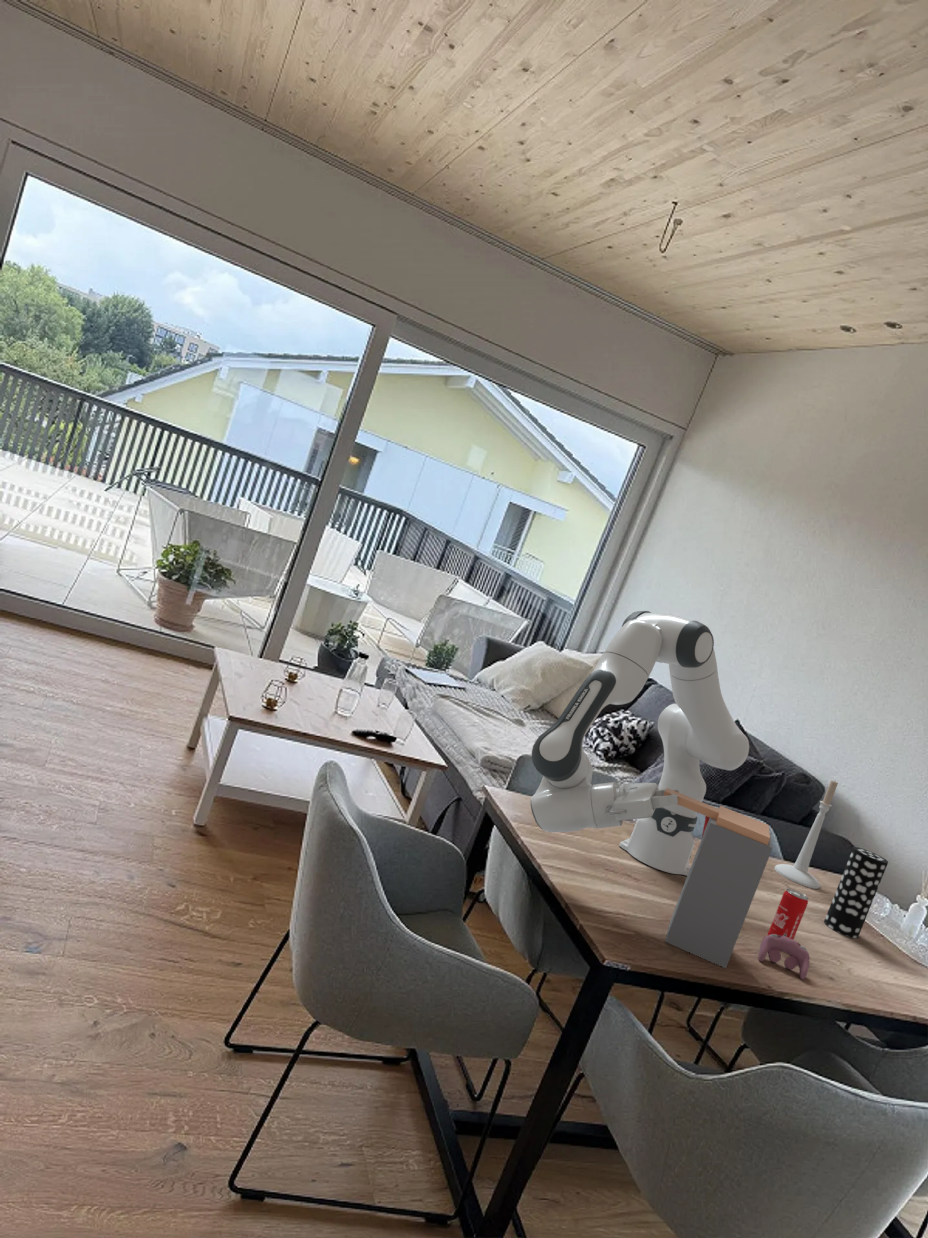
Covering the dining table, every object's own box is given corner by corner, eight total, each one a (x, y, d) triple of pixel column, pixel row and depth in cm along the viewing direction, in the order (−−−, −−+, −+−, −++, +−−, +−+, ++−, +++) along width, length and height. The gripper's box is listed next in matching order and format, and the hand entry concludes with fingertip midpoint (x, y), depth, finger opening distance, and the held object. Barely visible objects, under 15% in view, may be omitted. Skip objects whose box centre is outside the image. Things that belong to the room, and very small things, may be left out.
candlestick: (799, 872, 279) (836, 776, 276) (828, 892, 267) (868, 793, 264) (765, 863, 274) (803, 767, 271) (793, 884, 262) (833, 783, 259)
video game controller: (801, 983, 193) (811, 949, 195) (806, 981, 189) (816, 947, 191) (753, 961, 195) (764, 929, 198) (757, 959, 191) (768, 926, 194)
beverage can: (791, 953, 203) (811, 902, 202) (767, 944, 204) (787, 893, 203) (787, 944, 208) (807, 894, 207) (764, 935, 209) (783, 885, 208)
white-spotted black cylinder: (843, 937, 229) (874, 860, 227) (817, 919, 236) (846, 845, 234) (865, 939, 233) (895, 864, 231) (838, 922, 240) (867, 849, 238)
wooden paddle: (665, 791, 197) (668, 784, 197) (765, 832, 191) (768, 825, 191) (660, 801, 185) (663, 794, 185) (767, 845, 180) (770, 838, 180)
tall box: (670, 921, 197) (712, 810, 195) (726, 946, 194) (770, 833, 191) (665, 941, 184) (710, 822, 182) (725, 969, 181) (772, 848, 179)
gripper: (600, 798, 184) (672, 789, 180) (613, 781, 204) (678, 772, 200) (605, 831, 184) (678, 822, 180) (618, 810, 204) (684, 802, 200)
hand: (678, 796), depth 190 cm, fingers closed on wooden paddle, 4 cm apart
